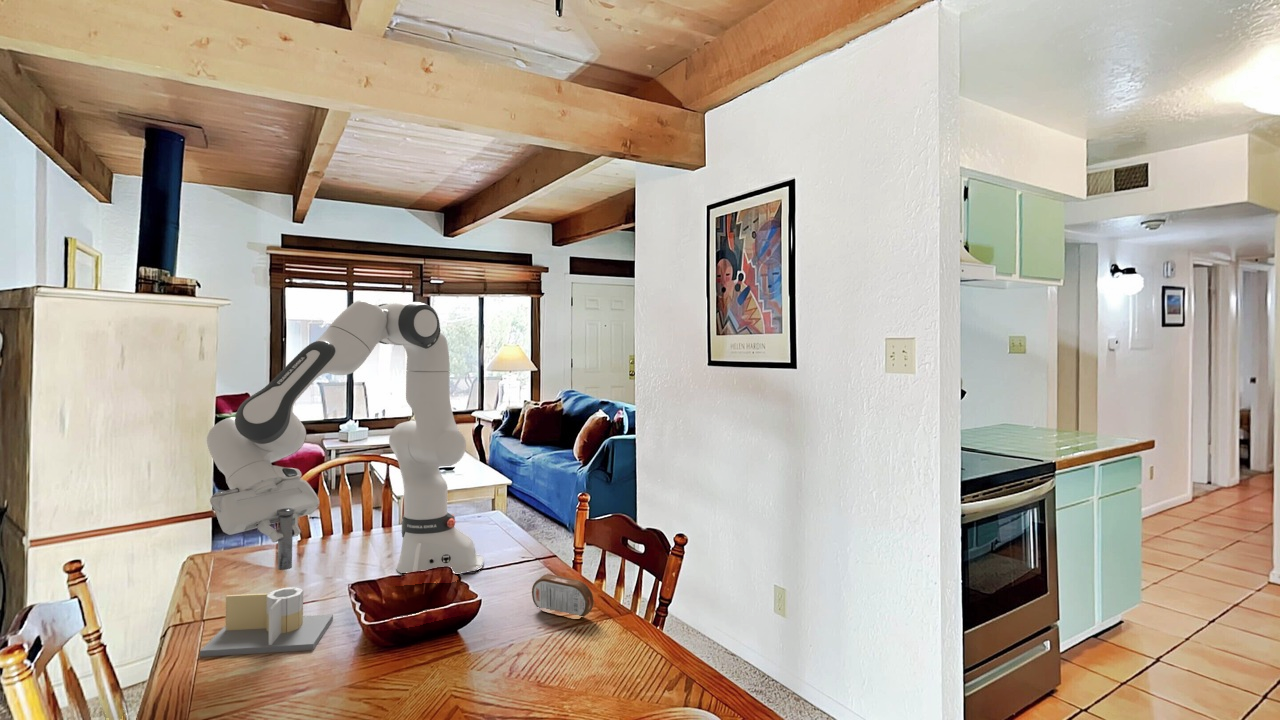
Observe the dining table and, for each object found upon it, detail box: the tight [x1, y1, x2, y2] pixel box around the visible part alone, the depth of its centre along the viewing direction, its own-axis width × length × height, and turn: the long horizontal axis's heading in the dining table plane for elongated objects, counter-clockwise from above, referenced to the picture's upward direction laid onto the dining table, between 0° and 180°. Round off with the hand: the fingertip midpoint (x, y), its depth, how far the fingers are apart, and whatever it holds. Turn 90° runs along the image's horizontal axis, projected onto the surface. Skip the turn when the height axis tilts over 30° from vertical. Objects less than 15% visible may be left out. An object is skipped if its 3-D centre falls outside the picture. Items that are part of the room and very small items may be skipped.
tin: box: [531, 573, 594, 617], centre depth 146 cm, size 15×3×8 cm, turn 65°
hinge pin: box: [277, 508, 295, 571], centre depth 134 cm, size 3×3×12 cm
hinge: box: [199, 586, 334, 658], centre depth 132 cm, size 20×14×8 cm
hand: (287, 537), depth 134 cm, fingers closed on hinge pin, 3 cm apart
